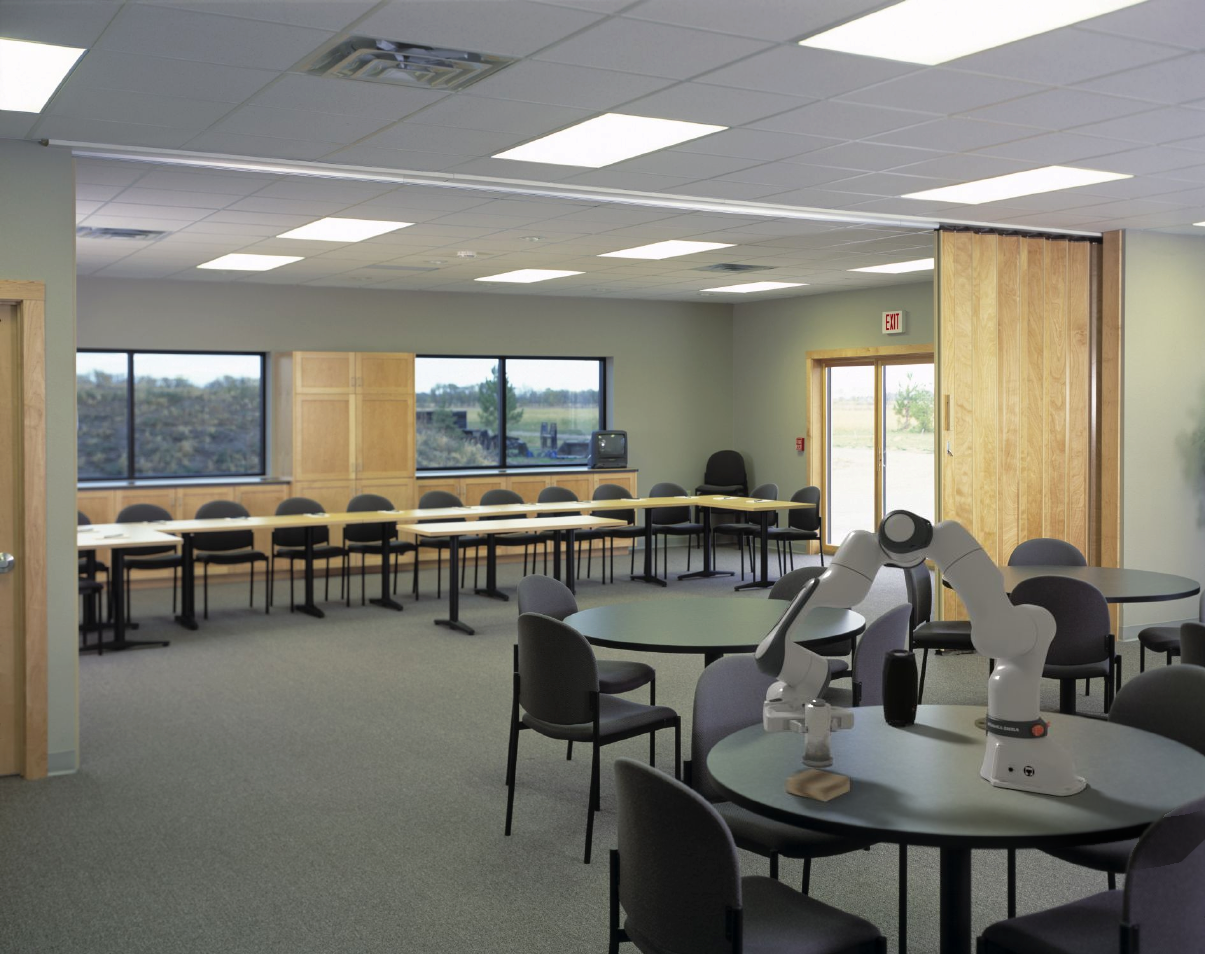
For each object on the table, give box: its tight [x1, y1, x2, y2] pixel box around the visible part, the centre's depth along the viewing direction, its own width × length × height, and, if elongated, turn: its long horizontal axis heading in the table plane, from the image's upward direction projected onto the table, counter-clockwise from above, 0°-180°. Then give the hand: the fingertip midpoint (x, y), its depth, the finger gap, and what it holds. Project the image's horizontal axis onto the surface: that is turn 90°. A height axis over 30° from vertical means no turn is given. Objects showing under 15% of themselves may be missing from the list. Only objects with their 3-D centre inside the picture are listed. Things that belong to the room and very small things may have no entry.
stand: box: [785, 767, 851, 803], centre depth 253 cm, size 10×10×3 cm
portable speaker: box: [881, 648, 919, 728], centre depth 309 cm, size 9×9×20 cm
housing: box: [802, 698, 834, 769], centre depth 253 cm, size 7×7×14 cm
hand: (819, 728), depth 252 cm, fingers closed on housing, 6 cm apart
